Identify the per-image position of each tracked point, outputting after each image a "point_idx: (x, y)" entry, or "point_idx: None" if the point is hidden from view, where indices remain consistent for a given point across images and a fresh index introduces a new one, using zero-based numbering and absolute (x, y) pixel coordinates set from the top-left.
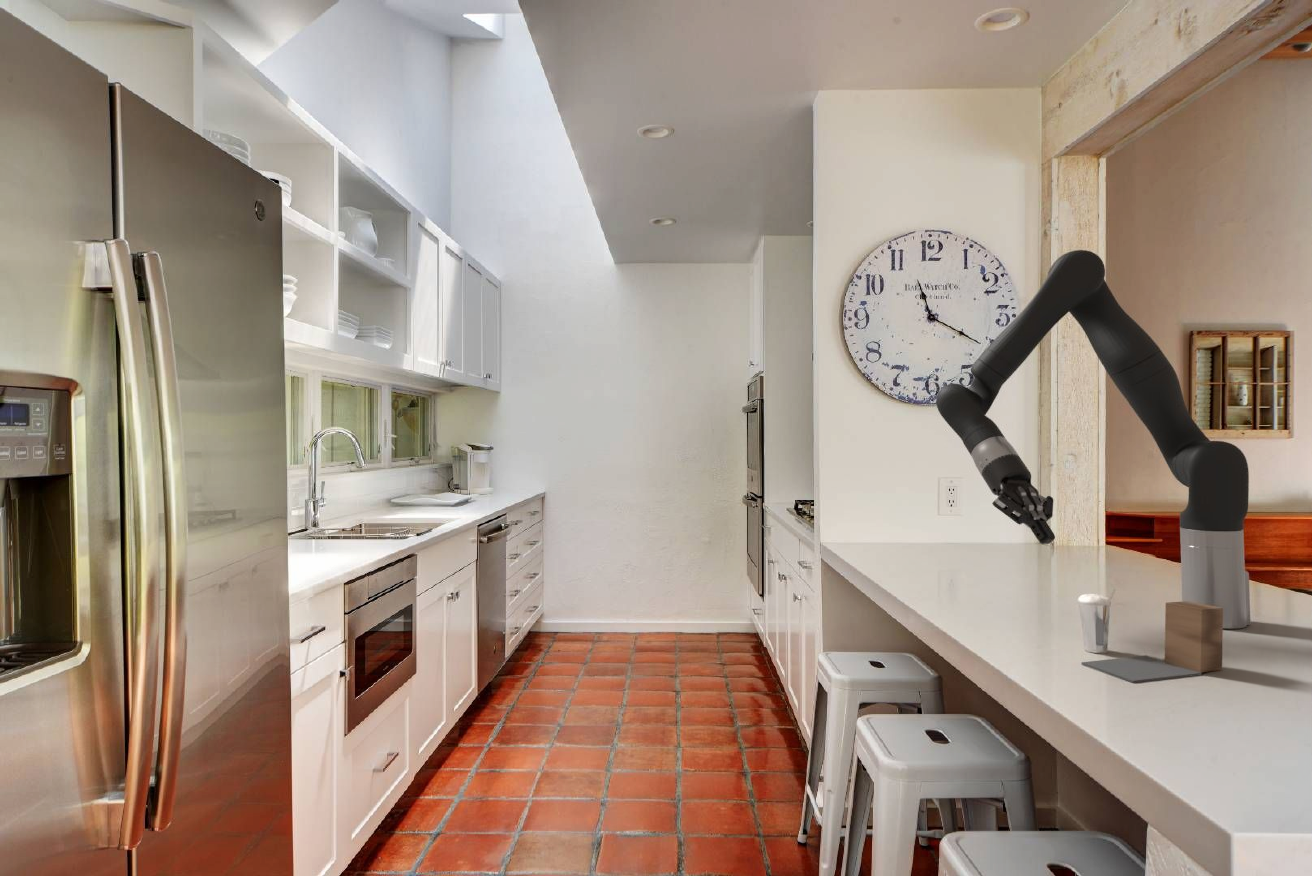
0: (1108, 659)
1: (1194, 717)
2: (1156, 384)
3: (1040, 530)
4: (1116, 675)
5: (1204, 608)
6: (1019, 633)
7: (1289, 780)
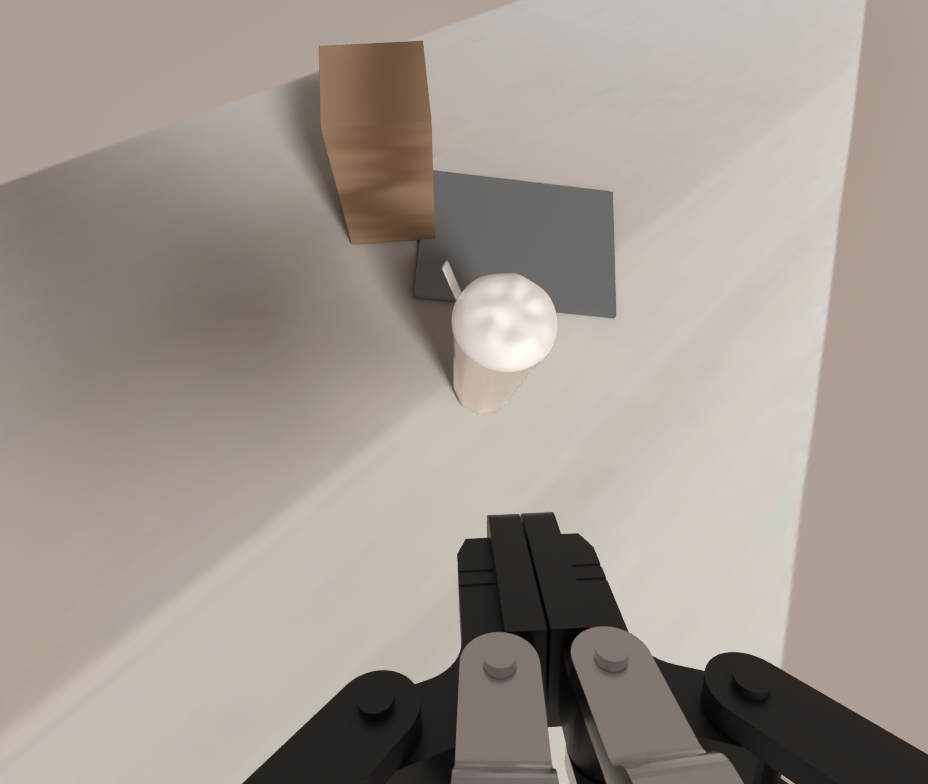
0: None
1: (656, 64)
2: None
3: (594, 569)
4: (613, 227)
5: (393, 49)
6: None
7: None
